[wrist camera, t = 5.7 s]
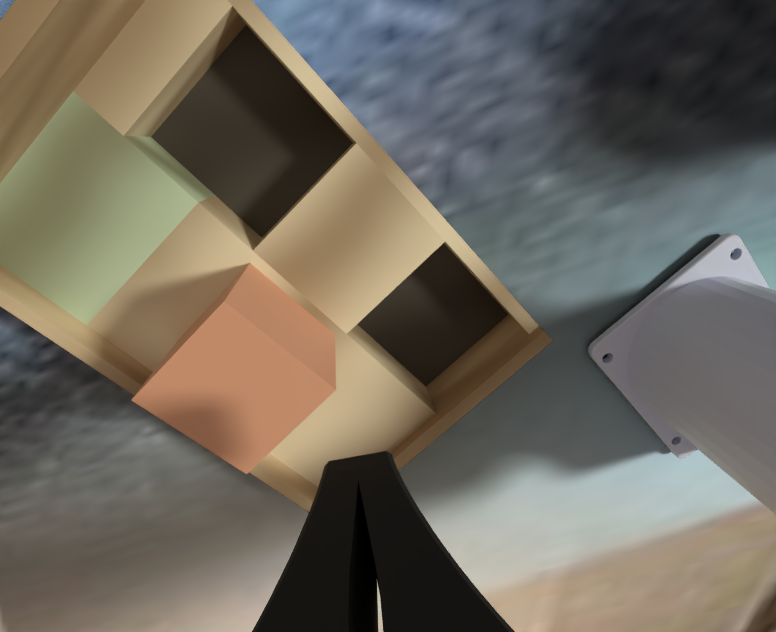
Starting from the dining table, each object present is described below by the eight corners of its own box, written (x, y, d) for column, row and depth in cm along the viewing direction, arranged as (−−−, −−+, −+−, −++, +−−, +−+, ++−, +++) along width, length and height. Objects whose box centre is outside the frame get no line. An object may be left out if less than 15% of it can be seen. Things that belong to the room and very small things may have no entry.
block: (335, 334, 17) (336, 389, 13) (264, 403, 17) (246, 474, 14) (250, 262, 15) (224, 301, 12) (177, 340, 16) (131, 400, 12)
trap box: (523, 314, 20) (587, 371, 15) (336, 475, 22) (338, 573, 17) (201, -49, 14) (128, -156, 9) (-14, 220, 16) (-172, 256, 11)
